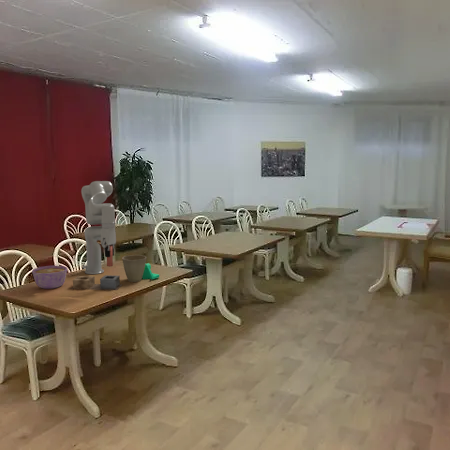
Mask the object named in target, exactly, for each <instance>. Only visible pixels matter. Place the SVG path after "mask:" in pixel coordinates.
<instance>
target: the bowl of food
mask: <svg viewBox="0 0 450 450" xmlns="http://www.w3.org/2000/svg"><path fill="white" fill-rule="evenodd" d="M31 273H32V275H33V280H34V281H35V284H36V285H37V287H39V288H41V289H44V290H51V289H57V288H60V287H61V286H63V285H64V283H65V280H66V277H67V273H68V267H67V266H63V265H46V266H45V265H44V266H38V267H36V268H33V269H31Z"/></svg>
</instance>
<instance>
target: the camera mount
mask: <svg viewBox="0 0 450 450" xmlns="http://www.w3.org/2000/svg"><path fill="white" fill-rule="evenodd" d="M151 268H152V265H151V263H149V262H148V263H145V269H144V273H143V276H142V279H143V280H156V279H158V278H160V274H158V273H154V272H152V270H151Z"/></svg>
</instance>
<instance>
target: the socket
mask: <svg viewBox="0 0 450 450" xmlns="http://www.w3.org/2000/svg"><path fill="white" fill-rule="evenodd" d="M99 284H100V289H116V288H117V287H118V286H119V285H121V284H120V275H109V274H107V275H103V276H102V277H101V278H100V279H99Z"/></svg>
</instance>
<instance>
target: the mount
mask: <svg viewBox="0 0 450 450" xmlns="http://www.w3.org/2000/svg"><path fill="white" fill-rule="evenodd" d="M95 284H96V282H95V276H83V275H82V276H80V275H79V276H77V277H75V278H74V279H73V280H72V288H82V289H81V290H89V289H90V288H91V287H92V286H94V285H95Z"/></svg>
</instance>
